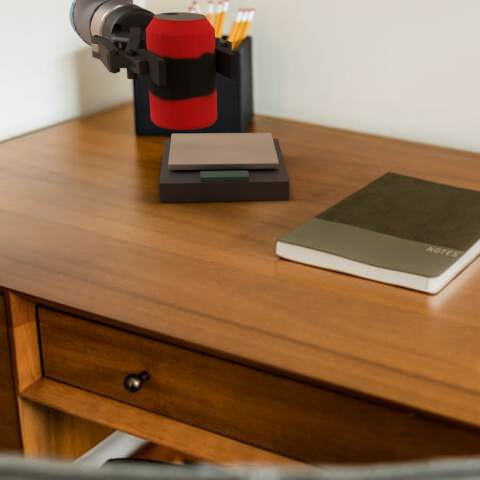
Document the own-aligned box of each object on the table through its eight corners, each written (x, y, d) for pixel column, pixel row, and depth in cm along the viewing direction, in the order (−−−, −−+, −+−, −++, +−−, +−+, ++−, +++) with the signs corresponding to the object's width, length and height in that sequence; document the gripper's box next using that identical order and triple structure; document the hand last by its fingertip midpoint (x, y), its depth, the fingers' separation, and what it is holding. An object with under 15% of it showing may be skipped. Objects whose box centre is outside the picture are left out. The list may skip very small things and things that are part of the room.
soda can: (192, 109, 109) (188, 9, 105) (230, 123, 104) (228, 18, 100) (138, 119, 104) (131, 14, 100) (175, 134, 99) (170, 24, 95)
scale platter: (168, 170, 114) (168, 164, 114) (171, 138, 127) (171, 133, 126) (278, 168, 116) (278, 162, 116) (271, 138, 129) (271, 132, 129)
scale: (160, 202, 111) (158, 178, 110) (165, 156, 129) (164, 135, 127) (289, 199, 114) (289, 176, 113) (277, 154, 131) (277, 134, 130)
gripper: (204, 57, 122) (282, 94, 104) (51, 70, 112) (108, 113, 94) (203, 1, 119) (282, 29, 101) (45, 8, 109) (103, 41, 91)
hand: (198, 69), depth 98 cm, fingers closed on soda can, 8 cm apart
